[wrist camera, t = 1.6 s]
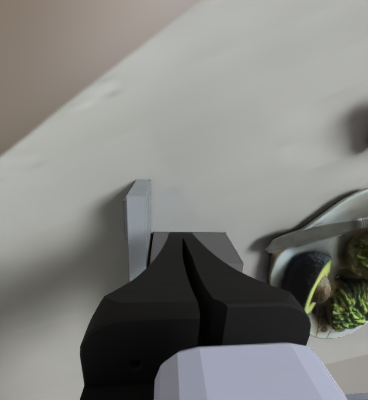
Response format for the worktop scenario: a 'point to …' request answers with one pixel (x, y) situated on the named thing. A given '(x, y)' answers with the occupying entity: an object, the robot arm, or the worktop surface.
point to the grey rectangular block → (210, 240)
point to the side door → (138, 226)
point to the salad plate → (327, 267)
